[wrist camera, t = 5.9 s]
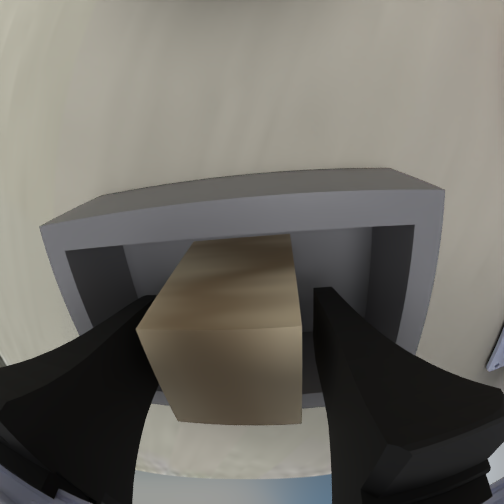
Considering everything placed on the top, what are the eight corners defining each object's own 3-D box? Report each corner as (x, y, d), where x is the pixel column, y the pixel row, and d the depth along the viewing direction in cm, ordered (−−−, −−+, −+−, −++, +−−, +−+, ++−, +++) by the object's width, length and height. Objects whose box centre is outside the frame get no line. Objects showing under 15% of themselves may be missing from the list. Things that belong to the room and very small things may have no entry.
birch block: (290, 233, 12) (301, 325, 6) (294, 315, 13) (301, 423, 8) (193, 241, 12) (135, 328, 7) (210, 319, 14) (177, 421, 8)
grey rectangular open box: (389, 167, 11) (445, 189, 7) (376, 332, 14) (401, 394, 10) (101, 195, 12) (39, 226, 8) (143, 340, 15) (113, 397, 11)
